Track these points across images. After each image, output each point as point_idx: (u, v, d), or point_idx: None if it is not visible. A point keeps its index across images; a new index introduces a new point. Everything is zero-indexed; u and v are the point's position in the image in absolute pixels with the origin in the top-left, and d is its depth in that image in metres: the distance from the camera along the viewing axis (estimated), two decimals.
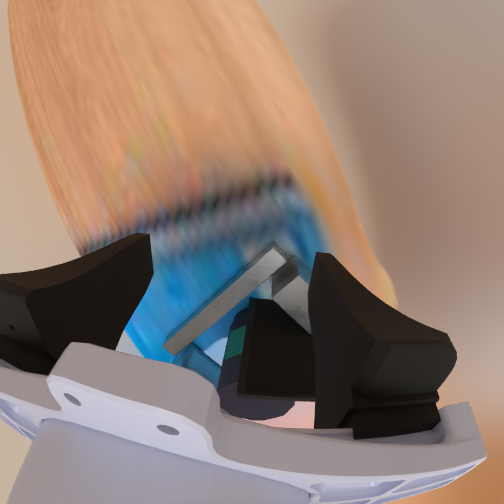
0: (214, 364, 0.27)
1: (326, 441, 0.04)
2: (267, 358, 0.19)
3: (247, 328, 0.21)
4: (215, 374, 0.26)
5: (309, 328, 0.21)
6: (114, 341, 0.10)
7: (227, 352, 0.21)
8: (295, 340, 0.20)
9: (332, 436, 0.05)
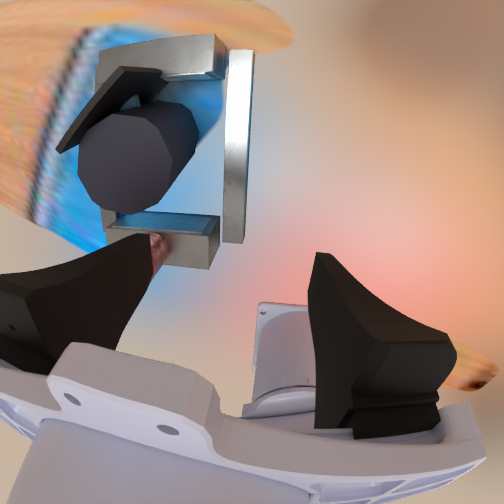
0: (159, 213, 0.22)
1: (326, 441, 0.04)
2: None
3: None
4: (159, 219, 0.21)
5: None
6: (114, 341, 0.10)
7: None
8: None
9: (332, 436, 0.05)
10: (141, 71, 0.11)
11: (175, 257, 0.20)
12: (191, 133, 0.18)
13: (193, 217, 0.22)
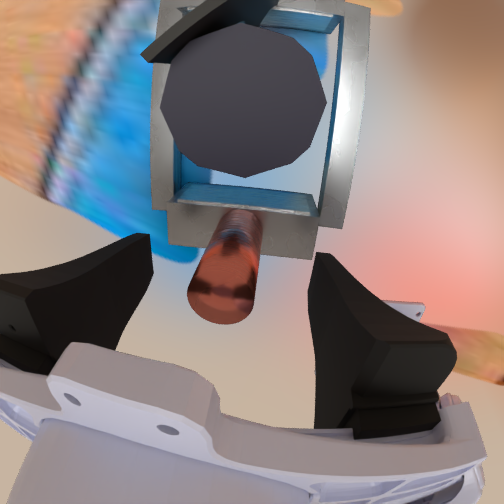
0: (234, 187, 0.18)
1: (326, 441, 0.04)
2: None
3: None
4: (238, 193, 0.17)
5: None
6: (114, 341, 0.10)
7: None
8: None
9: (332, 436, 0.05)
10: None
11: (269, 243, 0.15)
12: None
13: (283, 193, 0.17)
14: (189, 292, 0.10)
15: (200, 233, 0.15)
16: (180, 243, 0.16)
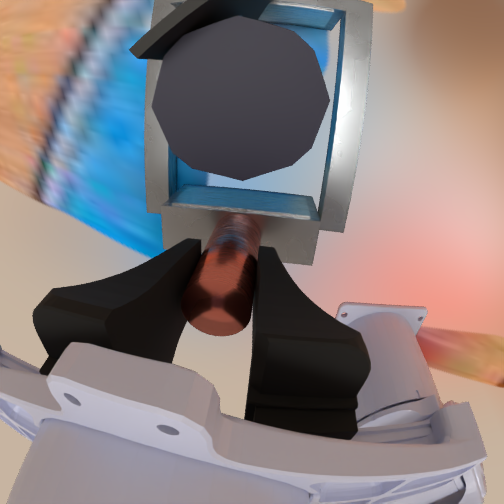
0: (231, 189, 0.17)
1: (326, 441, 0.04)
2: None
3: None
4: (235, 196, 0.16)
5: None
6: (171, 354, 0.09)
7: None
8: None
9: None
10: None
11: None
12: None
13: (282, 196, 0.16)
14: (183, 303, 0.10)
15: (196, 238, 0.15)
16: None
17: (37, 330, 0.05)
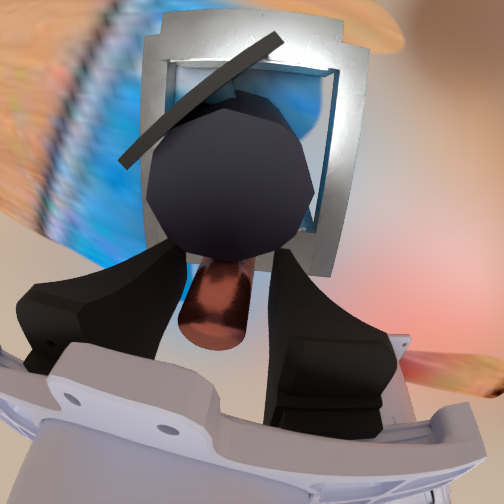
0: None
1: (326, 441, 0.04)
2: None
3: None
4: None
5: None
6: (154, 350, 0.09)
7: None
8: None
9: None
10: None
11: (263, 260, 0.15)
12: None
13: None
14: (179, 320, 0.10)
15: None
16: None
17: (20, 324, 0.05)
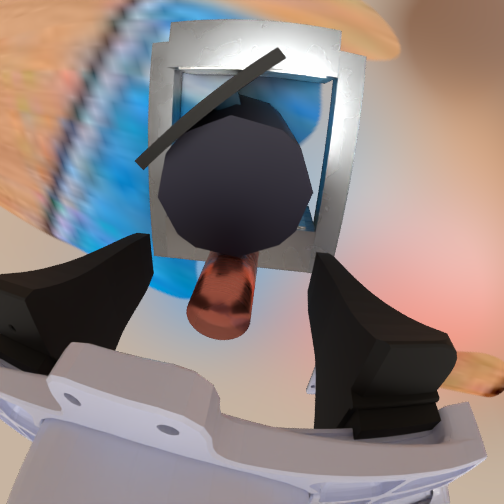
0: None
1: (326, 441, 0.04)
2: None
3: None
4: None
5: (246, 61, 0.11)
6: (114, 341, 0.10)
7: None
8: None
9: (332, 436, 0.05)
10: None
11: (266, 257, 0.16)
12: None
13: None
14: (188, 310, 0.11)
15: None
16: (179, 256, 0.16)
17: None
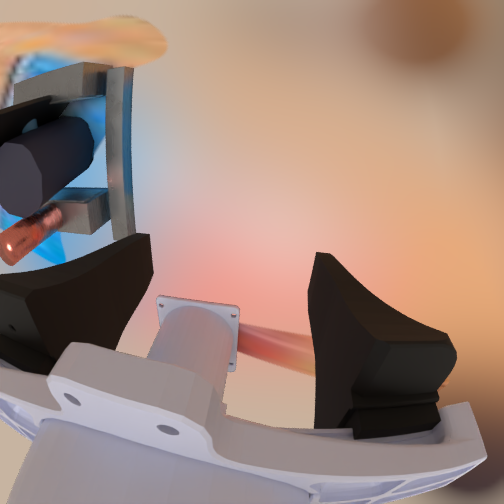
0: (67, 188, 0.22)
1: (326, 441, 0.04)
2: None
3: None
4: (62, 193, 0.21)
5: None
6: (114, 341, 0.09)
7: None
8: None
9: (332, 436, 0.05)
10: (21, 107, 0.12)
11: (67, 224, 0.19)
12: (79, 145, 0.18)
13: (88, 190, 0.21)
14: None
15: None
16: None
17: None
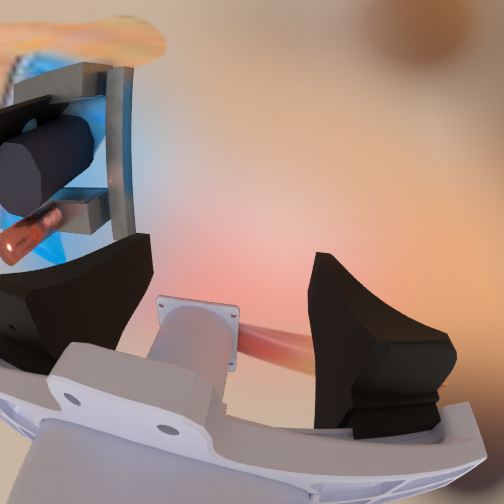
0: (67, 188, 0.22)
1: (326, 441, 0.04)
2: None
3: None
4: (62, 193, 0.21)
5: None
6: (114, 341, 0.09)
7: None
8: None
9: (332, 436, 0.05)
10: (20, 106, 0.12)
11: (67, 224, 0.19)
12: (79, 144, 0.18)
13: (88, 190, 0.21)
14: None
15: None
16: None
17: None
